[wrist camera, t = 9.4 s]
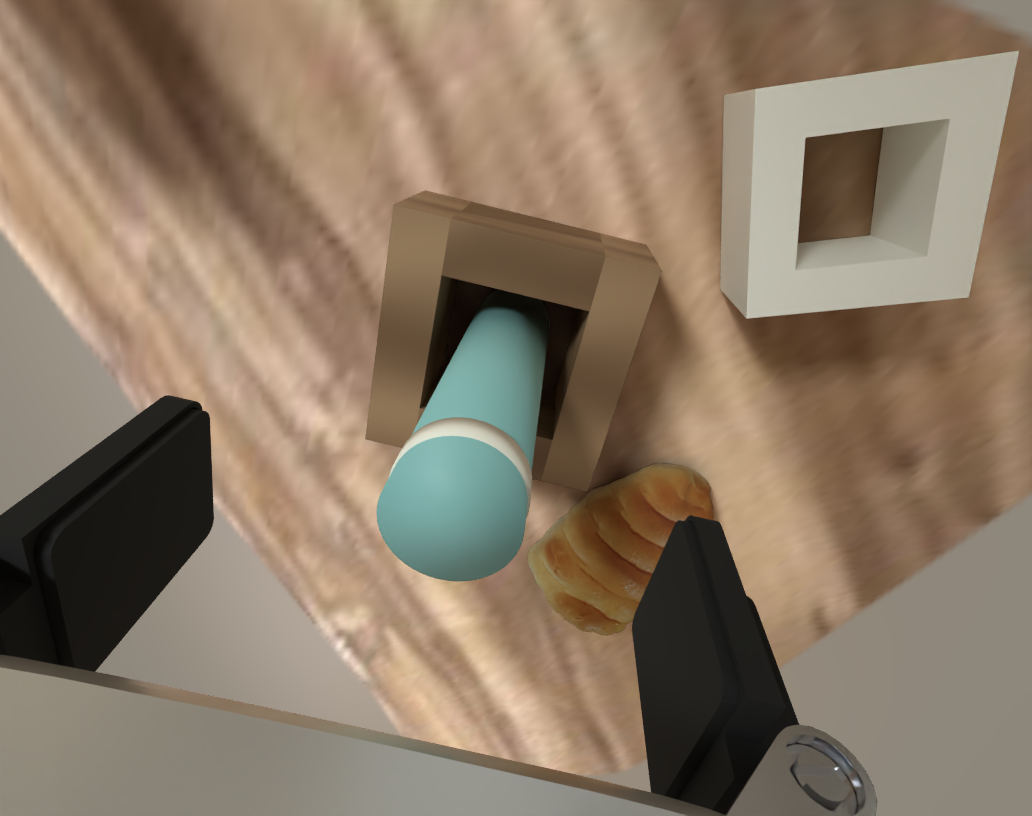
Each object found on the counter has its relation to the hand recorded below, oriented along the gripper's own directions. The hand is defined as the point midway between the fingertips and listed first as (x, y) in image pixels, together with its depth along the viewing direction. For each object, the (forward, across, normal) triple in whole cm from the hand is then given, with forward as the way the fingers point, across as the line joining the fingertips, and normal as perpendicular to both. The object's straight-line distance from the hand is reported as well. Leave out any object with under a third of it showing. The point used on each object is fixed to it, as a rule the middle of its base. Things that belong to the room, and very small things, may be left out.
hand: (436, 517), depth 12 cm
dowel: (+15, 0, +1) cm, 15 cm away
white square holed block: (+15, -10, -7) cm, 19 cm away
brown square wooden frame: (+15, 0, +1) cm, 15 cm away
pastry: (+15, -8, +11) cm, 20 cm away
